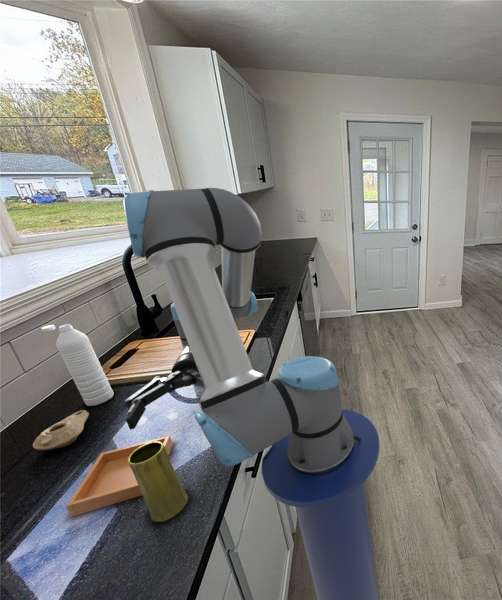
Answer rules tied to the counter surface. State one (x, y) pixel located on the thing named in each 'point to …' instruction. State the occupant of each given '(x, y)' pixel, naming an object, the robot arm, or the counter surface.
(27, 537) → the counter surface
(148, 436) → the counter surface
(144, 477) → the vase
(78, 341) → the water bottle
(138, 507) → the counter surface
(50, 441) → the pottery oil lamp
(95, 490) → the wooden tray
